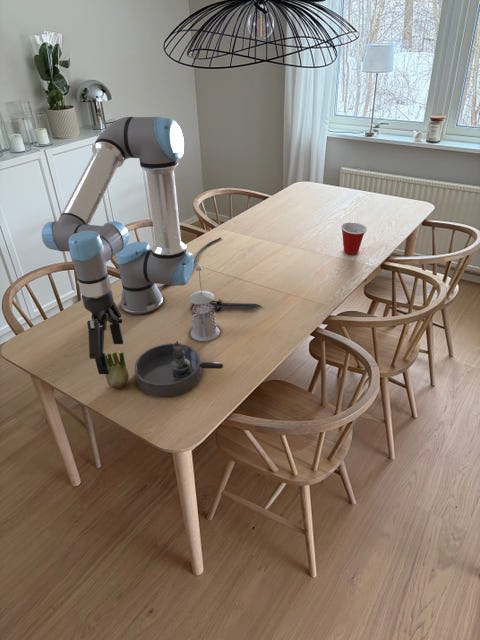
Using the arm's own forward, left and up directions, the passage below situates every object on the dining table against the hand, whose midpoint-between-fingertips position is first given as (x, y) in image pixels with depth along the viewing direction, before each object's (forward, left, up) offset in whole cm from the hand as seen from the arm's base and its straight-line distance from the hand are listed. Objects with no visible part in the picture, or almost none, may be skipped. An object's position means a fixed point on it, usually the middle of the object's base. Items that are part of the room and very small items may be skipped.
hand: (111, 357), depth 132 cm
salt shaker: (-5, +18, -10) cm, 21 cm away
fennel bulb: (0, 0, -11) cm, 11 cm away
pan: (-5, +14, -10) cm, 18 cm away
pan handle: (-5, +27, -7) cm, 29 cm away
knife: (-43, +28, -11) cm, 53 cm away
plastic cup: (-87, +78, -11) cm, 118 cm away
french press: (-26, +22, -11) cm, 36 cm away
